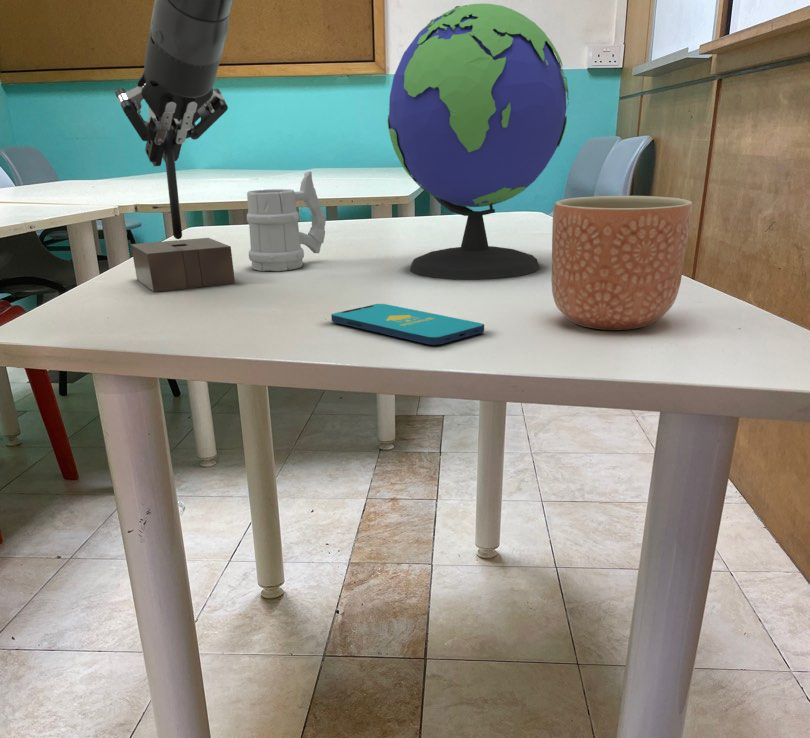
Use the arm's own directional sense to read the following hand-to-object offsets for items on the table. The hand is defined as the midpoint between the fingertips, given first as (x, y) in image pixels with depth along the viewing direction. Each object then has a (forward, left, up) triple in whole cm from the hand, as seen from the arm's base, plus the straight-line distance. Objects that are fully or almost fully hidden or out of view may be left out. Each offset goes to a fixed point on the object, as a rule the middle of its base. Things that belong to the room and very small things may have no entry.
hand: (160, 160), depth 100 cm
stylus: (0, -2, -9) cm, 9 cm away
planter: (+30, -50, -14) cm, 60 cm away
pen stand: (0, -2, -14) cm, 14 cm away
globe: (+36, -15, -14) cm, 42 cm away
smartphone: (+12, -41, -14) cm, 45 cm away
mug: (+16, +2, -14) cm, 22 cm away
